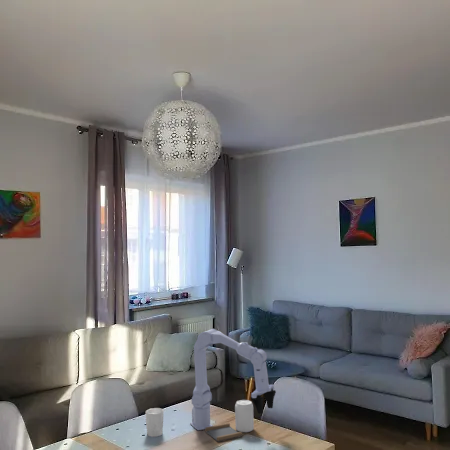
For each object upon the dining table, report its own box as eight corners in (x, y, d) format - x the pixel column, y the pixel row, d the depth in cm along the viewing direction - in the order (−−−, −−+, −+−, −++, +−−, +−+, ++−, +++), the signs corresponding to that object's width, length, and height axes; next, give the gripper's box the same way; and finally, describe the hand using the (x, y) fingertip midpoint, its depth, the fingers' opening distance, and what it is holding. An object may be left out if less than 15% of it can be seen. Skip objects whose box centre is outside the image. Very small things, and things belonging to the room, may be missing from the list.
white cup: (167, 432, 205) (166, 409, 206) (157, 438, 198) (157, 414, 198) (152, 429, 208) (152, 407, 209) (142, 436, 201) (141, 412, 202)
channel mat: (205, 431, 204) (205, 427, 204) (228, 426, 209) (228, 422, 210) (217, 442, 193) (217, 437, 193) (242, 436, 198) (242, 432, 198)
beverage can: (252, 433, 201) (251, 405, 202) (234, 432, 202) (233, 404, 203) (254, 426, 209) (254, 399, 210) (237, 426, 210) (236, 399, 211)
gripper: (259, 383, 193) (263, 416, 191) (278, 374, 204) (282, 406, 202) (246, 382, 197) (250, 415, 196) (265, 374, 208) (269, 405, 207)
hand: (265, 410), depth 199 cm, fingers open, 7 cm apart
